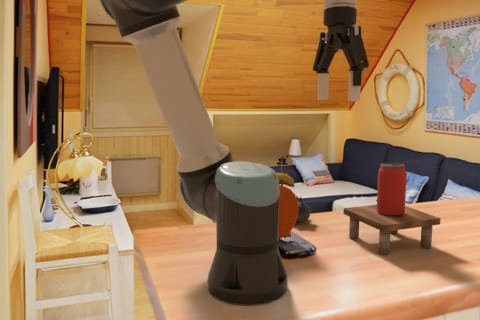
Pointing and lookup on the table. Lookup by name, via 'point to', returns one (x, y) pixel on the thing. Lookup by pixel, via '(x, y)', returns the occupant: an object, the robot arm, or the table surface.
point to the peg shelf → (391, 224)
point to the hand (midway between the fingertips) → (337, 100)
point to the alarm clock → (286, 205)
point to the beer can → (391, 189)
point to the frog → (303, 210)
